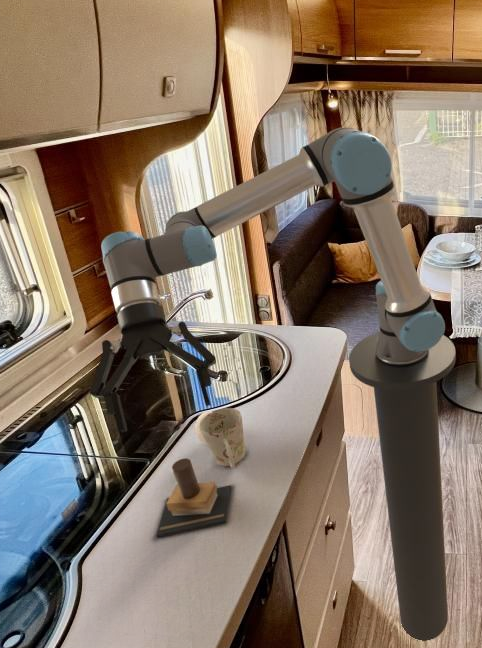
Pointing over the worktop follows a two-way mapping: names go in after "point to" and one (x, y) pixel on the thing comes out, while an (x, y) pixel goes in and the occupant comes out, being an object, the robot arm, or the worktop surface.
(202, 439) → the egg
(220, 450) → the mug
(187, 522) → the counter mat
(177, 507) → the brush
